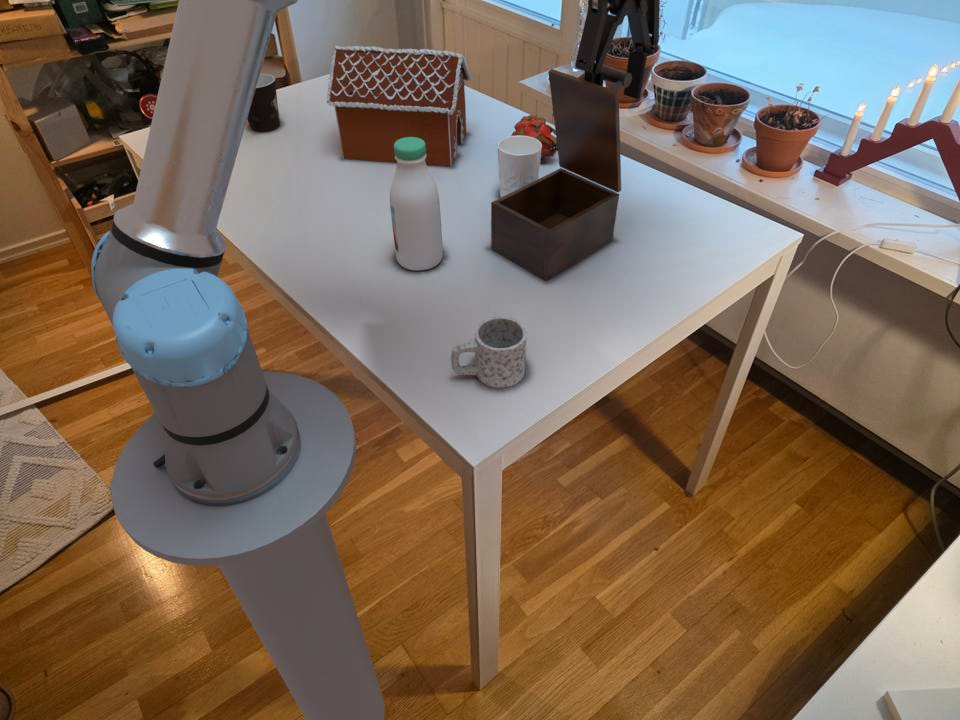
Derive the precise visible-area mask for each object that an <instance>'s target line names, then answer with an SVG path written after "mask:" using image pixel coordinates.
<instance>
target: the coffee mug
mask: <svg viewBox="0 0 960 720" xmlns="http://www.w3.org/2000/svg"><path fill="white" fill-rule="evenodd" d="M279 112H280V111H279V103H278V94H277V85H276V77H275V76H274V75H272V74H269V73H260V75H259V79H258V82H257V86H256V89H255V93H254V96H253V100H252V103H251V107H250V111H249V114H248V118H247V122H248V124H249V127H250V129H251V131H253V132H255V133H269V132H273V131H275V130H277V129H278V128H280V126H281V122H280V113H279Z"/></svg>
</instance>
